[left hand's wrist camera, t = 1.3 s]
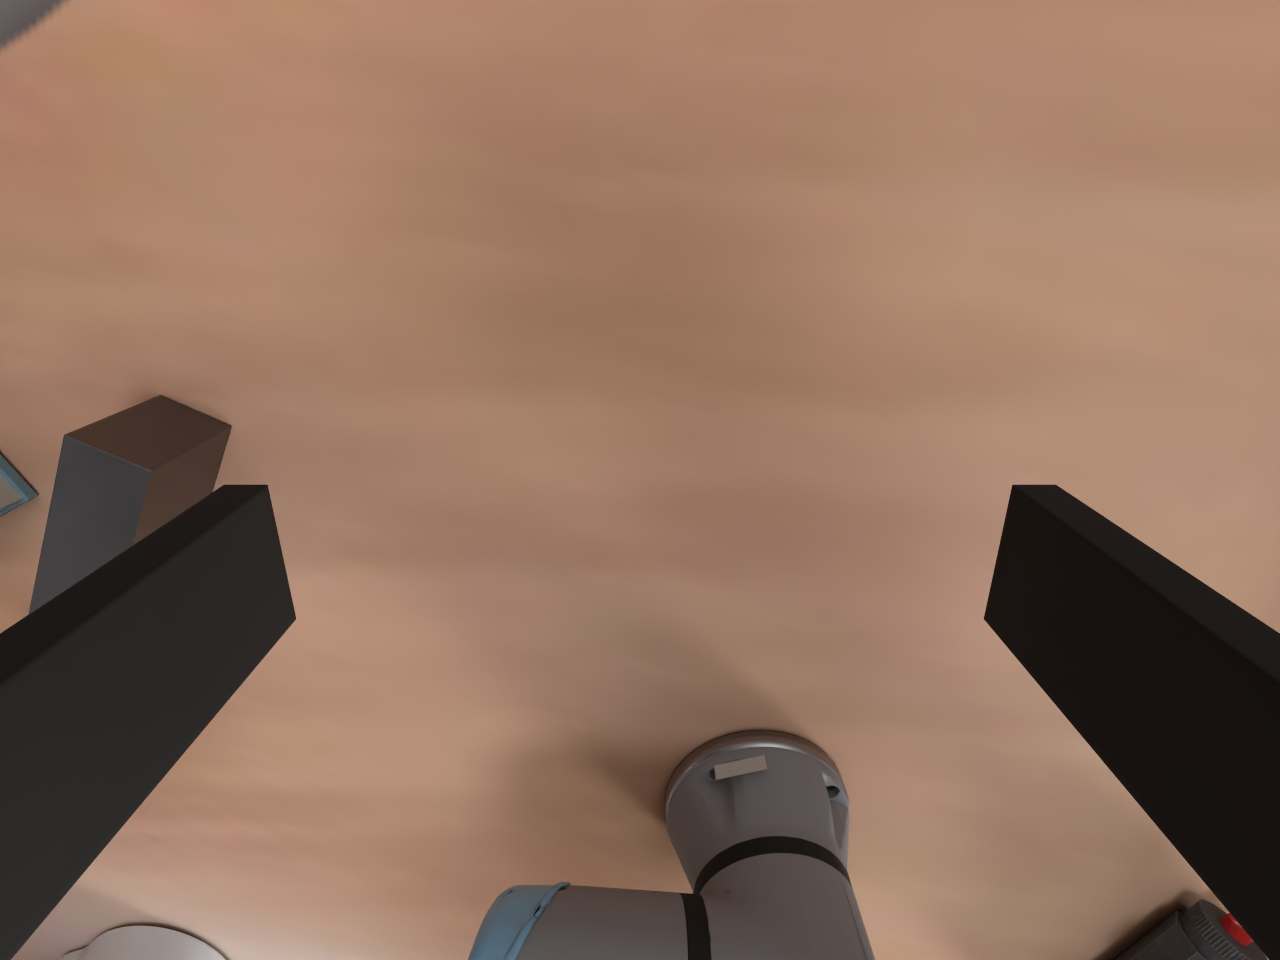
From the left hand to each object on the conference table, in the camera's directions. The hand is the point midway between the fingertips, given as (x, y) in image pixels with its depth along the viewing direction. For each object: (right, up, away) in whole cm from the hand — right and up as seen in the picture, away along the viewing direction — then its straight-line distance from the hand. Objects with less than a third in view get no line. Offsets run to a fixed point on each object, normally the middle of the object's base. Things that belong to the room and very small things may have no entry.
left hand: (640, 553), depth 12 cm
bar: (-35, -4, +38) cm, 52 cm away
